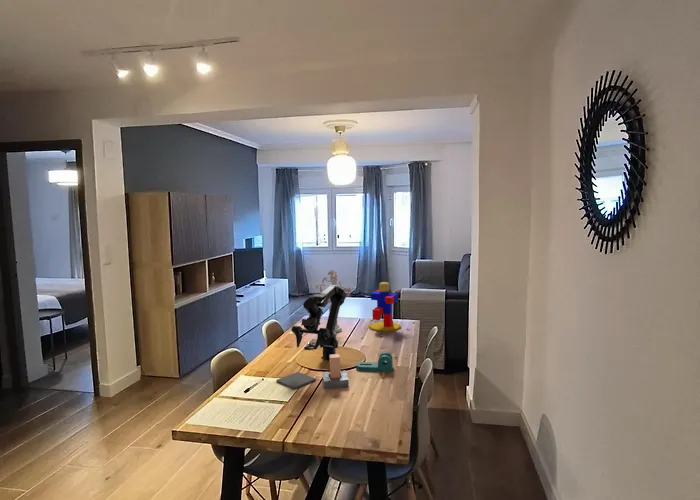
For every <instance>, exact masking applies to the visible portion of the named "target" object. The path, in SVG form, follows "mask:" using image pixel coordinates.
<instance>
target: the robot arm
mask: <svg viewBox="0 0 700 500" xmlns="http://www.w3.org/2000/svg"><path fill="white" fill-rule="evenodd" d="M339 287H340V286H338V285H332V284H330V285H328V286H327V287H326V288H325V289H324V290H322V293H321V292H320V293H316V294H314V295H313V296H309V297H308V298H307V299H306V300H304V301H303V304H302V307H303V308H304V309H305V311H306V312H307V313H308V314H309V316H308V317H307V318H302V319H301V326H300V325H293V326H292V327H291V329H290V331H291V332H292V333H293V334H294V335H295V339H296V348H297V349H298V348H299V347H300V345H301V342H302V339H303V335H304V334H311V335H313V334H314V335H317V336H316V337H317V338H316V340H315V344H314V345H315V348H314V347H313V348H314V350H317V349H318V348H319V346H320V348H322V356H321V357H320V358H321V359H322V360H327V361H329V362H330V357H329V355H331V354H337V353H336V349H339V341H338V339H337V335H335V333H336V332H334V330H335V325H336V321H337V322H338V316H339V313H340V309H341V306H342V305H343V304H344V302H345V300H346V298H347V292H346V291H344V290H343V289H344V288H339ZM328 299H329V300H331V302H330V304H331V303H332V304H331V308H330V312H329V313H328V318H327V321H326V326H325V327H319V326H321V318H322V315H324V311H323V308H325V307H327V306H328ZM302 326H303V327H302Z"/></svg>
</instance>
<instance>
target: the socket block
mask: <svg viewBox="0 0 700 500" xmlns="http://www.w3.org/2000/svg"><path fill="white" fill-rule="evenodd" d="M321 375H322V382H323V389H324V390H330V389H342V388H344V389H345V388H349V386H350V385H349V383H350V382H349V380H350V379H349V377H348V372H347V370H340V378H333V379H330V371H325V372H324V371H323V372H322V374H321Z"/></svg>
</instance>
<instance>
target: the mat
mask: <svg viewBox="0 0 700 500" xmlns="http://www.w3.org/2000/svg"><path fill="white" fill-rule="evenodd" d="M316 379H317V378H315V377H314V376H309V375H307V374H305V373H303V372H299V371H296V372H294V373H291V374H289V375H286V376H283V377H280V378H278V379H276V380H275V381H276V383H278V384H281V385H283V386H285V387H287V388H289V389H291V390H297V389H299V388H301V387H304V386H307V385H309V384H312V383H314V382H316V381H317V380H316Z"/></svg>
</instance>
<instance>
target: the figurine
mask: <svg viewBox="0 0 700 500" xmlns="http://www.w3.org/2000/svg"><path fill="white" fill-rule="evenodd" d="M390 289H391V288H390V282H388V281H387V282H386V281H382V282H380V283H379V284H378V289H376V290H375V291H373V292H371V293H370V300H371V301H376V304H377V305H376V307H374V308H373V309H372V320H374V321H379V322H373V323H371V324H369V325H368V329H369V330H371V331H372V332H377V333H378V332H379V333H393V332H397V331H400V330H401V329H402V326H401V325H400V324H399V323H397V322H394V321H393V304H395V303H397V302H398V301H399V293H392V292H391V293H389V292H390ZM382 316H383V321H381V318H382Z"/></svg>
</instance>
